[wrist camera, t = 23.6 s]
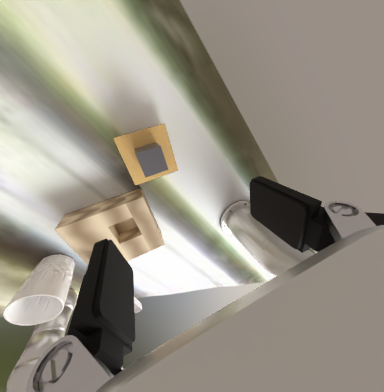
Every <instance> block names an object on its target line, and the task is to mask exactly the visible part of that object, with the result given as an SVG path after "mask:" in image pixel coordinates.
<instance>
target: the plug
mask: <svg viewBox="0 0 384 392" xmlns="http://www.w3.org/2000/svg"><path fill="white" fill-rule="evenodd" d="M113 139H114V141H115V143H116V145H117V147H118V150H119V152H120V154H121V156H122V158H123V160H124V162H125V164H126V167H127V169H128V171H129V173H130V175H131V177H132V179H133V181H134V183H135V185H138V184H141V183H144V182H146V181H149V180H152V179H155V178H158V177H161V176H163V175H166V174H169V173H172V172H175V171H177V170H178V169H177V165H176V162H175V158H174V155H173V151H172V148H171V145H170V141H169V138H168V134H167V131H166V127H165V124H161V125H157V126H153V127H150V128H146V129H143V130H139V131H136V132H132V133H129V134H125V135H122V136H118V137H114V138H113Z"/></svg>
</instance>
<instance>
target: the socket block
mask: <svg viewBox="0 0 384 392" xmlns="http://www.w3.org/2000/svg"><path fill="white" fill-rule="evenodd" d="M55 231H56V232H57V233H58V234H59V235H60V236H61V237H62V238H63V239H64V240H65V241H66V242H67V243H68V245H69V246H70V247H71V248H72V249H73V250H74V251H75V252H76V253H77V254H78V255H79V256H80V257H81V258H82V260H83V261H84V262H85V263H86V264H87V265H88V262H89V258H90V257H91V254H92V250H93V246H94V244H95V243H96V242H99V241H101V240H104V239H108V240H112V241H113V242H114V244H115V245H116V247H117V248H118V249H119V251H120V252H121V254H122V255H123V257H124V258H125V259H126V261H129V260H131V259H133V258H135V257H138V256H140V255H142V254H144V253H147V252H149V251H151V250H153V249H155V248H158V247H160V246H162V245H164V241H163V238H162V234H161V231H160V229H159V227H158V225H157V222H156V220H155V218H154V216H153V213H152V211H151V209H150V207H149V204H148V202H147V200H146V198H145V195H144V193H143V191H142V189H141V188H139V189H136V190H134V191H131V192H128V193H125V194H122V195H120V196H117V197H114V198H111V199H108V200H105V201H103V202H100V203H97V204H94V205H91V206H89V207H86V208H83V209H80V210H77V211H75V212H72V213H69V214H66V215H64V217H63V218H62V220H61V221H60V223H59V224H58V226H57V227H56V229H55Z"/></svg>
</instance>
